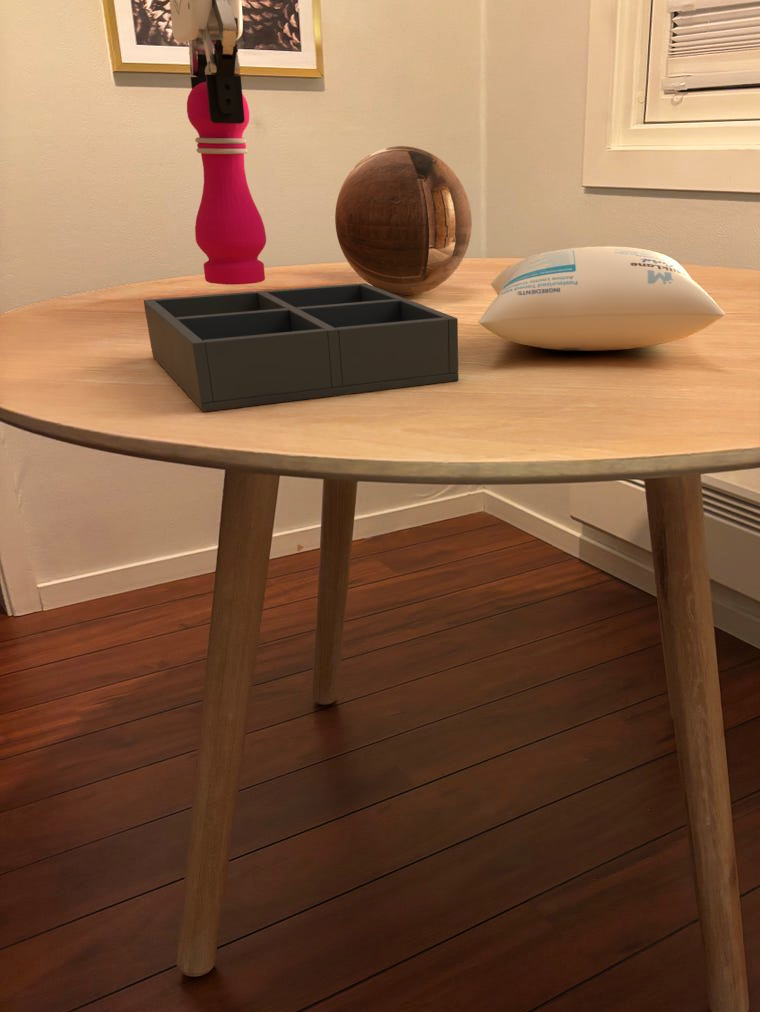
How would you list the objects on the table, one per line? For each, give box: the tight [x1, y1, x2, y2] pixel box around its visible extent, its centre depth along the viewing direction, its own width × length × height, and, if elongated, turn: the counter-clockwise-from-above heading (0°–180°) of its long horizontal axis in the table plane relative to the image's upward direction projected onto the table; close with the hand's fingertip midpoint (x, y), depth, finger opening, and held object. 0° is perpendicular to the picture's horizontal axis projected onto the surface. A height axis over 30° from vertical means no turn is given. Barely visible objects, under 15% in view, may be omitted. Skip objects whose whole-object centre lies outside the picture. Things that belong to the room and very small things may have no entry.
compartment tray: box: [143, 282, 460, 413], centre depth 75 cm, size 19×19×5 cm
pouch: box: [477, 245, 726, 352], centre depth 82 cm, size 8×19×20 cm
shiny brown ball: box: [334, 145, 473, 296], centre depth 104 cm, size 15×15×15 cm
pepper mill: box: [186, 65, 267, 286], centre depth 96 cm, size 7×7×20 cm
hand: (219, 120), depth 94 cm, fingers closed on pepper mill, 6 cm apart
